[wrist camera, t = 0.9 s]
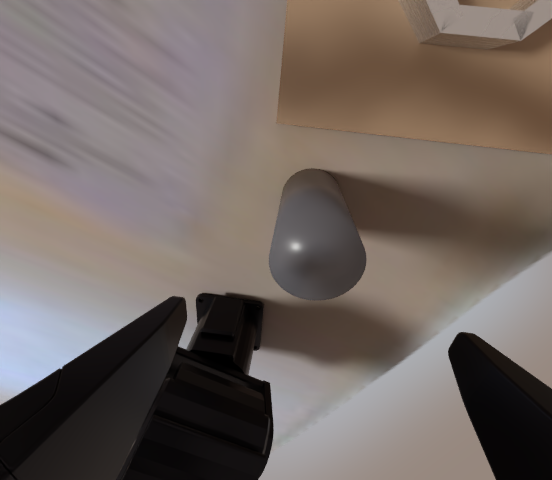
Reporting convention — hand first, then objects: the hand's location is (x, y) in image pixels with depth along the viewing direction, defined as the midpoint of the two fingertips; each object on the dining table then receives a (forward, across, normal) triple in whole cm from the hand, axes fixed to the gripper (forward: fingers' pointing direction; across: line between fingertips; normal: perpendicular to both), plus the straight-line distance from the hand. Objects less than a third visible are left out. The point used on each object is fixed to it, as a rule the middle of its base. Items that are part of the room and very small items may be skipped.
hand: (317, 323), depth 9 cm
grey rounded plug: (+13, 0, 0) cm, 13 cm away
